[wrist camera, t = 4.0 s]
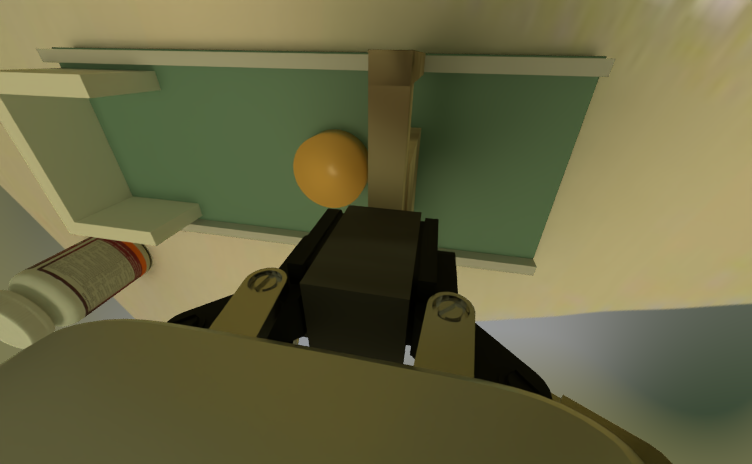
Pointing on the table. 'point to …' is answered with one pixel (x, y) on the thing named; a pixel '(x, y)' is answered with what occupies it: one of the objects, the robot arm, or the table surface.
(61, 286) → the pill bottle
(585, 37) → the table surface
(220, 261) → the table surface
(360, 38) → the table surface
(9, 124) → the pitch
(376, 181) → the striker
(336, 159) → the yellow domed round part
